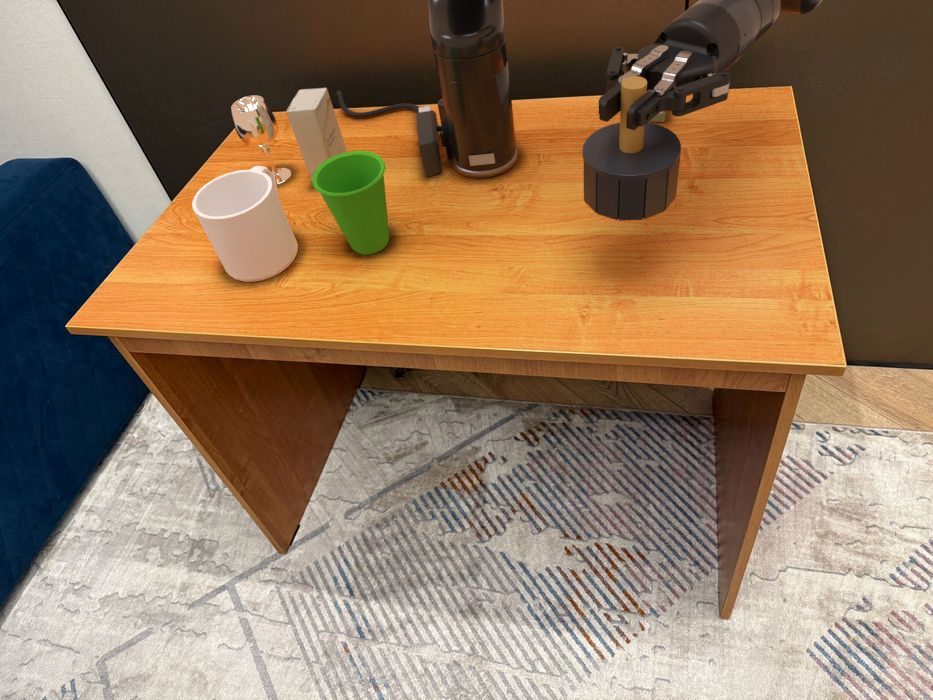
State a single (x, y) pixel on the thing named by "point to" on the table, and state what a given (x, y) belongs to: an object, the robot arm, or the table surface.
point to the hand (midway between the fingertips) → (616, 116)
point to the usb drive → (429, 140)
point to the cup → (356, 198)
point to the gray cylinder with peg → (631, 164)
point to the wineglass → (258, 129)
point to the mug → (246, 224)
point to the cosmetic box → (315, 127)
